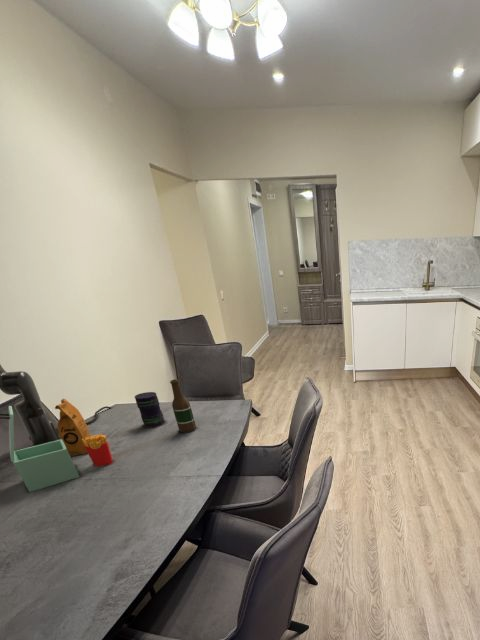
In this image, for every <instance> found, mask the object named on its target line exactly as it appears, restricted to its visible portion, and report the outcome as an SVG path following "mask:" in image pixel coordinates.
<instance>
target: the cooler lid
mask: <svg viewBox="0 0 480 640" xmlns="http://www.w3.org/2000/svg"><path fill="white" fill-rule="evenodd" d="M0 420H8V441H9V442H8V443H9V444H8V445H9V446H8V447H9V457H10V462H12V463H13V462H14V451H15V431H14V429H15V428H14V427H15V422H14V421H15V420H14V411H13V407H12V405H8V413H2V412H0Z"/></svg>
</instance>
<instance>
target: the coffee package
mask: <svg viewBox="0 0 480 640" xmlns="http://www.w3.org/2000/svg"><path fill="white" fill-rule="evenodd" d="M54 409H55V410H59V419H58V422H57V428H58V433H59V435H58V436H59V438H60V440H61V439H62V440H63V442H64V444H65V447H66V449H67V451H68V453H69V455H70V457H72V456H79V455H85V454H88V453H87V451H86V449H85V448H84V446H85V444H84V443H83V441H82V439H84V440H85V438H86V437H90V436H92V435H91V433H90V430H89V427H88V424H87V425H86V421H85V419H84V417H83V416H82V414H81V412H80V410H79V409H78V408H77V407H76V406H75V405H73V404H72V403H71V402H69V401H68V400H67V399H66V398H62V399H61V401H60V403H59V404H57V405H55V407H54Z"/></svg>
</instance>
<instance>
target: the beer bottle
mask: <svg viewBox="0 0 480 640" xmlns="http://www.w3.org/2000/svg"><path fill="white" fill-rule="evenodd" d="M169 383H170V384H171V389H172V394H173V400H172V404H171V407H172V411H173V414H174V417H175V421H176V425H177V427H178V431H180V432H182V433H189V432H193V431H195V430H196V428H197V425H196V420H195V417H194V414H193V410H192V406H191V403H190V402H189V400H188V398H186V397H185V396H184V394H183V391H182V388H181V386H180V381H179V379H171V380H170V381H169Z"/></svg>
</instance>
